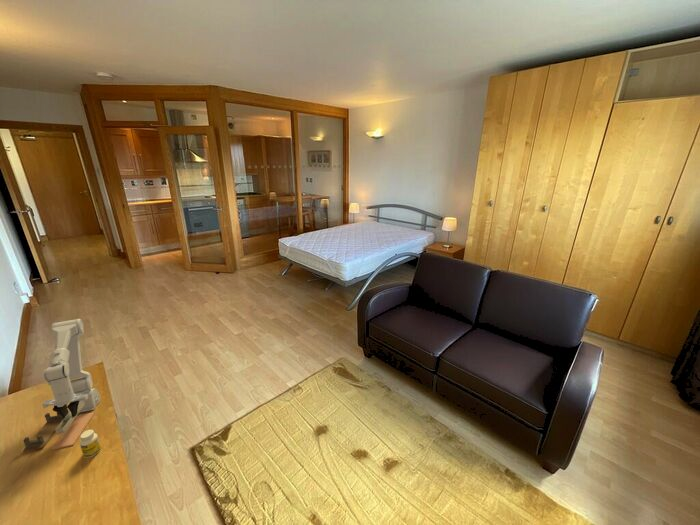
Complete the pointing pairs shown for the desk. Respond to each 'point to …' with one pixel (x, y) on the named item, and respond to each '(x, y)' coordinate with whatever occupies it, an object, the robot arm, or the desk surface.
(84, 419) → the mat
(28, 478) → the desk surface
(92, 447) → the supplement bottle
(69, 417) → the steel rail
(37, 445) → the hook stand
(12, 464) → the desk surface
